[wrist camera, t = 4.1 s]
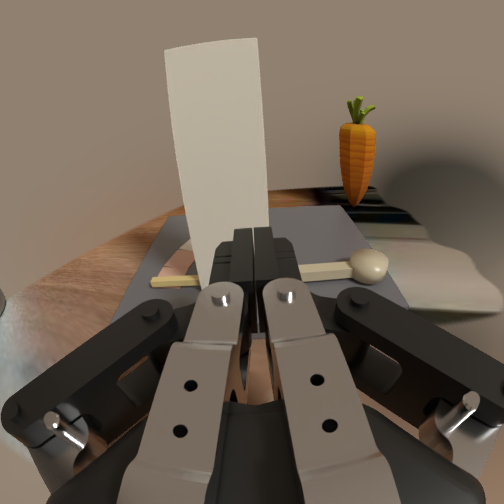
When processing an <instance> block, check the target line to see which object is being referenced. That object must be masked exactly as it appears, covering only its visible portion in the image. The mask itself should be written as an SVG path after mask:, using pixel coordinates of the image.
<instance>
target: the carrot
mask: <svg viewBox="0 0 504 504" xmlns="http://www.w3.org/2000/svg"><path fill="white" fill-rule="evenodd" d="M362 101H363V97H361V96H357V97H356V100H354V101H353V104H352V101H351V100H348V101H347V104H348V108H349V112H350V114H351V117H352V120H353V123H346V124H343V125H342V126H341V128H340V133H339V139H340V166H341V174H342V181H343V186H344V189H345V193H346V196H347V198H348V200H349V203H350V204H351V205H352V207H355V206H357V205H358V204H359V202H360V201H361V199H362V198H363V196H364V194H365V192H366V190H367V188H368V184H369V181H370V178H371V173H372V170H373V164H374V155H375V143H376V134H375V131H374V130H373V128H371V127H370V126H369V125H366V124H363V120H364V118H365V116H366V115H367V114H368V113H369V112H370V111H371V110H373V109H375V107H374V105H370V106H368V107H366V109H365V110H360V107H361V104H362ZM359 111H360V114H359Z"/></svg>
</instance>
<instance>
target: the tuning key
mask: <svg viewBox="0 0 504 504" xmlns="http://www.w3.org/2000/svg"><path fill="white" fill-rule="evenodd" d="M164 53H165V64H166V76H167V87H168V96H169V105H170V114H171V121H172V130H173V138H174V145H175V152H176V158H177V165H178V171H179V178H180V184H181V190H182V195H183V201H184V207H185V212H186V218H187V223H188V228H189V233H190V238H191V243H192V248H193V253H194V258H195V262H196V267H197V272H198V275H187V276H166V277H152V279H151V285H152V287H167V286H193V285H201V289H202V290H203V289H204V288H205V287H207V286H208V285H209V279H210V274H211V269H212V264H213V259H214V254H215V249H216V248H217V247H218V246H219V244H220V243H221V242H225V241H233V235H234V229H240V228H252V232H253V244H254V227H268V226H269V213H268V192H267V175H266V156H265V139H264V124H263V109H262V94H261V80H260V67H259V55H258V42H257V38H244V39H232V40H223V41H214V42H206V43H200V44H194V45H188V46H182V47H178V48H173V49H168V50H165V51H164ZM254 256H255V255H254ZM298 267H299V271H300V274H301V278H302V282H307V281H319V280H331V279H342V278H354V279H355V280H357V281H359V282H361V283H365V284H377V283H380V282H381V281H383V280H384V278H385V275H386V271H387V267H388V259H387V257H386V256H385V255H384V254H382V253H381V252H379V251H376V250H373V249H358V250H355V251H354V252H353V253H352V254H351V257H350V261H345V262H332V263H319V264H305V265H298Z"/></svg>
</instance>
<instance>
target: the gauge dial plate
mask: <svg viewBox="0 0 504 504" xmlns="http://www.w3.org/2000/svg"><path fill="white" fill-rule="evenodd" d="M268 213H269V226H271V227H272V233H273V238H282V237H285V238H287V239H288V240H289V241H290V242H291V243H292V244H293V248H294V252H295V255H296V259H297V263H298V265H305V264H319V263H332V262H345V261H350V257H351V254H352V253H353V252H354V251H355V250H358V249H372V248H371V246H370V245H369V243H368V242H367V241H366V239H365V238H364V236H363V235H362V234H361V232H360V231H359V230H358V228H357V227H356V225H355V224H354V223H353V221H352V220H351V219H350V217H349V216H348V215H347V213H346V212H345V211H344V209H343V208H342V207H341V206H340V205H334V206H308V207H287V208H269V209H268ZM187 275H198V272H197V267H196V262H195V258H194V253H193V248H192V243H191V238H190V233H189V228H188V223H187V218H186V215H181V216H171V217H168V218H167V220H166V222H165V223H164V225H163V227H162V228H161V230H160V232H159V233H158V235H157V237H156V238H155V240H154V242H153V243H152V245H151V247H150V249H149V250H148V252H147V254H146V256H145V257H144V259H143V261H142V263H141V265H140V267H139V268H138V270H137V272H136V274H135V276H134V278H133V279H132V281H131V283H130V285H129V287H128V289H127V291H126V293H125V295H124V297H123V299H122V301H121V303H120V305H119V307H118V309H117V311H116V313H115V315H114V317H113V319H112V321H111V323H110V324H112V323H113V322H115V321H116V320H117V319H119V318H120V317H122V316H123V315H125V314H126V313H128V312H129V311H130V310H132V309H133V308H135V307H136V306H138V305H139V304H141V303H142V302H145V301H147V300H151V299H163V300H166V301H168V302H169V303H170V304H171V305H172V307H173V309H176V308H180V307H184V306H187V305H191V304H193V303H195V302H196V301H197V298H198V295H199V293H200V292H201V291H202V289H201V285H193V286H167V287H152V285H151V279H152V277H166V276H187ZM303 283H305V284H306V285H307V287H308V288H309V291H310V292H312V293H314V294H316V295H319V296H323V297H329V298H337V296H338V294H339V293H340V292H341V291H342V290H344V289H346V288H350V287H363V288H367V289H369V290H372V291H373V292H375V293H377V294H379V295H381V296H383V297H385V298H387V299H388V300H390V301H392V302H394V303H396V304H398V305H400V306H401V307H403V308H405V309H407V310H408V308H409V305H408V303H407V302H406V300H405V298H404V297H403V295H402V294H401V292H400V290H399V289H398V287H397V286H396V284H395V282H394V281H393V279H392V278H391V276H390V275H389V273H388V271H386V275H385V278H384V280H383V281H381V282H380V283H377V284H365V283H361V282H359V281H357V280H355V279H354V278H342V279H331V280H319V281H307V282H303ZM256 295H257V294H256ZM257 324H258V333H253V334H252V339H263V338H265V333H260V330H259V318H258V306H257Z"/></svg>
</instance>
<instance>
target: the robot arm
mask: <svg viewBox="0 0 504 504" xmlns="http://www.w3.org/2000/svg"><path fill="white" fill-rule="evenodd" d="M254 255H255V256H254ZM256 294H257V295H256ZM4 306H5V296H4V295H3V293H2V291H1V289H0V315H1V313H2V311H3V309H4ZM257 306H258V318H259V330H260V333H265V338H266V352H267V359H268V365H269V371H270V378H271V384H272V390H273V397H274V401H272V402H269V403H265V404H261V405H248V404H247V391H248V380H249V368H250V357H251V348H250V347H251V343H252V334H253V333H258V324H257ZM370 345H372V346H374V347H375V348H377V349H379V350H380V351H382V352H384V353H385V354H387V355H388V356H390V357H392V358H393V359H395V360H396V361H398V363H399V364H400V365H399V364H398V363H396V362H395V361H393V360H391V359H390V358H388V357H387V356H385V355H383V354H382V353H380V352H379V351H377V350H375V349H374V348H372V347H371V346H370ZM146 355H148V357H149V359H148V360H146V361H145V362H144V363H143V364H141V365H140V366H139V367H137V368H136V369H135V370H134V371H132V372H131V373H130V374H128V375H127V376H126V377H125V378H123V379H122V380H120V381H117V380H118V378H119V376H120V375H121V374H122V373H124V372H125V371H126V370H128V369H129V368H130V367H132V366H133V365H134V364H135V363H137V362H138V361H139V360H141V359H142V358H143V357H144V356H146ZM356 388H357V389H359V390H360V391H362V392H363V393H365V394H366V395H368V396H369V397H370V398H372V399H373V400H375V401H376V402H378V403H379V404H381V405H382V406H384V407H385V408H387V409H388V410H390V411H391V412H393V413H394V414H396V415H398V416H399V417H401V418H402V419H403V420H405V421H407V422H408V423H410V424H411V425H413V426H414V427H416V428H417V429H419V440H418V439H416V438H415V437H413V436H412V435H410V434H409V433H408V432H406V431H405V430H403V429H402V428H400V427H399V426H398V425H396V424H395V423H393V422H392V421H390V420H389V419H388V418H387V417H385V416H384V415H382V414H381V413H380V412H378V411H377V410H375V409H373V408H371V407H369V406H367V405H365V404H362V403H361V400H360V397H359V395H358V392H357V389H356ZM149 411H150V413H149V416H147V417H146V418H144V419H143V420H141V421H140V422H139V423H138V424H137V425H135V426H134V427H133V428H132V429H131V430H130V431H128V432H127V433H126V434H125V435H124V436H123V437H122V438H120V439H119V440H118V441H117V442H116V443H114V444H113V445H112V446H111V447H110V448H108V449H107V445H108V444H109V443H111V442H112V441H113V440H114V439H116V438H117V437H118V436H120V435H121V434H122V433H123V432H125V431H126V430H127V429H128V428H130V427H131V426H132V425H133V424H135V423H136V422H137V421H138V420H139V419H141V418H142V417H143V416H144V415H145V414H147V413H148V412H149ZM1 422H2V426H3V428H4V429H5V430H6V431H7V432H8V433H9V434H11V435H12V436H13V437H15V438H16V439H17V440H19V441H20V442H22V443H23V444H24V445H25V446H26V447H27V448H28V450H29V452H30V454H31V456H32V458H33V461H34V463H35V465H36V467H37V469H38V471H39V473H40V474H41V477H42V478H43V480H44V482H45V484H46V486H47V487H48V489H49V491H50V493H51V496H50V497H49V499H48V501H47V503H46V504H486V498H485V493H484V490H483V487H482V485H481V483H480V482H479V481H478V478H479V476H480V474H481V472H482V470H483V468H484V466H485V464H486V462H487V459H488V457H489V455H490V453H491V450H492V448H493V446H494V443H495V441H496V438H497V435H498V433H499V430H500V428H501V426H502V425H503V424H504V364H502V363H501V362H499V361H497V360H496V359H494V358H492V357H491V356H489V355H487V354H485V353H484V352H482V351H480V350H478V349H477V348H475V347H473V346H472V345H470V344H468V343H466V342H464V341H463V340H461V339H459V338H457V337H456V336H454V335H452V334H450V333H449V332H447V331H445V330H443V329H441V328H440V327H438V326H436V325H434V324H432V323H431V322H429V321H427V320H425V319H423V318H422V317H420V316H418V315H416V314H414V313H412V312H411V311H409V310H407V309H405V308H403V307H401V306H400V305H398V304H396V303H394V302H392V301H390V300H388V299H387V298H385V297H383V296H381V295H379V294H377V293H375V292H373V291H372V290H369V289H367V288H363V287H350V288H346V289H344V290H342V291H341V292H340V293H339V294H338V296H337V298H329V297H323V296H319V295H316V294H314V293H312V292H310V291H309V288H308V287H307V285H306V284H305V283H303V282H302V278H301V274H300V271H299V267H298V263H297V259H296V255H295V252H294V248H293V244H292V243H291V242H290V241H289V240H288V239H287V238H285V237H282V238H273V233H272V227H271V226H268V227H254V244H253V232H252V228H240V229H234V235H233V241H225V242H221V243H220V244H219V246H218V247H217V248H216V249H215V254H214V259H213V264H212V269H211V274H210V279H209V285H208V286H207V287H205V288H204V289H203V290H202V291H201V292H200V293H199V295H198V298H197V301H196V302H195V303H193V304H191V305H187V306H184V307H180V308H176V309H173V307H172V305H171V304H170V303H169V302H168V301H166V300H163V299H151V300H147V301H145V302H142V303H141V304H139V305H138V306H136V307H135V308H133V309H132V310H130V311H129V312H128V313H126V314H125V315H123V316H122V317H120V318H119V319H117V320H116V321H115V322H113V323H112V324H110V325H109V326H107V327H106V328H105V329H103V330H102V331H100V332H99V333H97V334H96V335H95V336H93V337H92V338H90V339H89V340H88V341H86V342H85V343H83V344H82V345H81V346H79V347H78V348H76V349H75V350H74V351H72V352H71V353H69V354H68V355H67V356H65V357H64V358H62V359H61V360H60V361H58V362H57V363H56V364H54V365H53V366H51V367H50V368H49V369H47V370H46V371H45V372H43V373H42V374H41V375H39V376H38V377H37V378H35V379H34V380H32V381H31V382H30V383H28V384H27V385H26V386H24V387H23V388H22V389H20V390H19V391H18V392H16V393H15V394H14V395H12V396H11V397H10V398H9V399H8V400H7V401H6V402H5V404H4V406H3V408H2V412H1Z"/></svg>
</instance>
